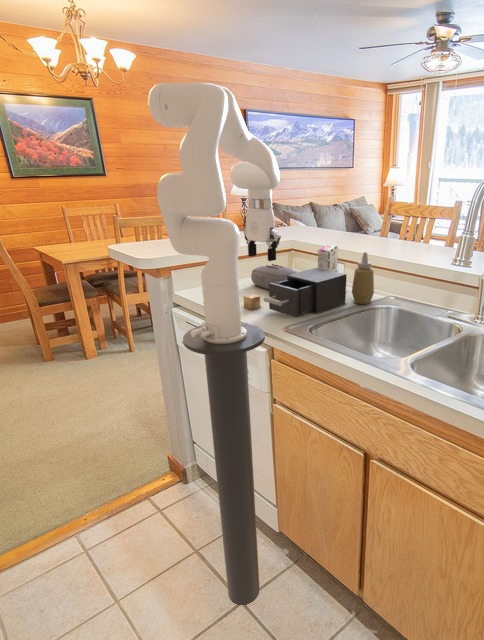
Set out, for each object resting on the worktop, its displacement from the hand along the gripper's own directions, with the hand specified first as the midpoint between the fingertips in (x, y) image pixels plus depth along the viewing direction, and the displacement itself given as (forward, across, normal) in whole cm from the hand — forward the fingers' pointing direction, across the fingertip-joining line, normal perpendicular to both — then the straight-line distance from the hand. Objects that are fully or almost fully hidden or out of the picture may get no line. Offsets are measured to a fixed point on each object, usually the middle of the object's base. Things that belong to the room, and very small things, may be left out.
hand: (262, 258), depth 147 cm
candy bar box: (+17, +3, +32) cm, 36 cm away
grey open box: (+16, +13, +14) cm, 25 cm away
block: (+16, -1, -5) cm, 17 cm away
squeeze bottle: (+17, +23, +28) cm, 39 cm away
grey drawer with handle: (+15, +13, +1) cm, 20 cm away
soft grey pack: (+17, -14, +20) cm, 30 cm away
